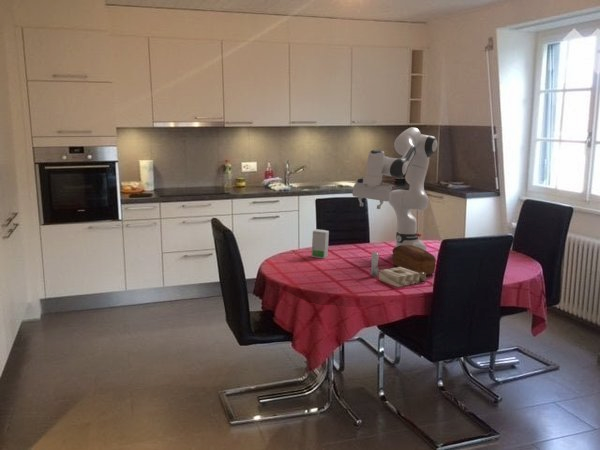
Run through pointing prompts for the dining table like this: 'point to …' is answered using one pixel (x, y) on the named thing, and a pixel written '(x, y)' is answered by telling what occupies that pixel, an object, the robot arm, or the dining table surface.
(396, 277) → the birch block
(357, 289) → the dining table surface
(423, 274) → the short bronze pin
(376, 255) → the tall steel pin
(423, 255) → the bread
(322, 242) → the skincare box
